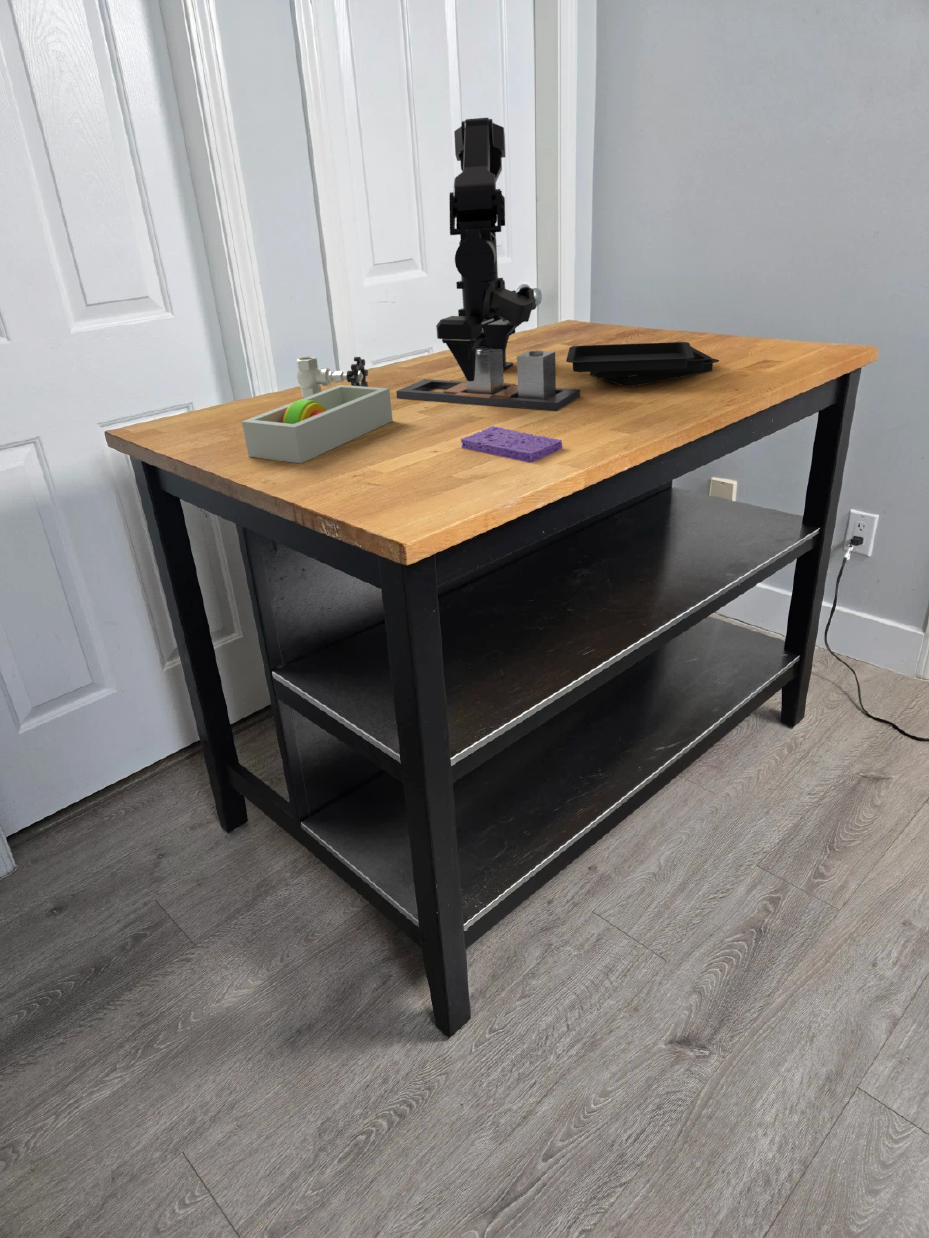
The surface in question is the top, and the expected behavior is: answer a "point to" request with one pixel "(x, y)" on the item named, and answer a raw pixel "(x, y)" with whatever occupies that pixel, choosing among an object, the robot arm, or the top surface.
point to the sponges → (511, 444)
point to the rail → (484, 395)
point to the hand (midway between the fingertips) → (484, 374)
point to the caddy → (318, 424)
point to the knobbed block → (487, 372)
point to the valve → (327, 375)
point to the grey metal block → (536, 375)
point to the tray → (639, 361)
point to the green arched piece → (302, 411)
